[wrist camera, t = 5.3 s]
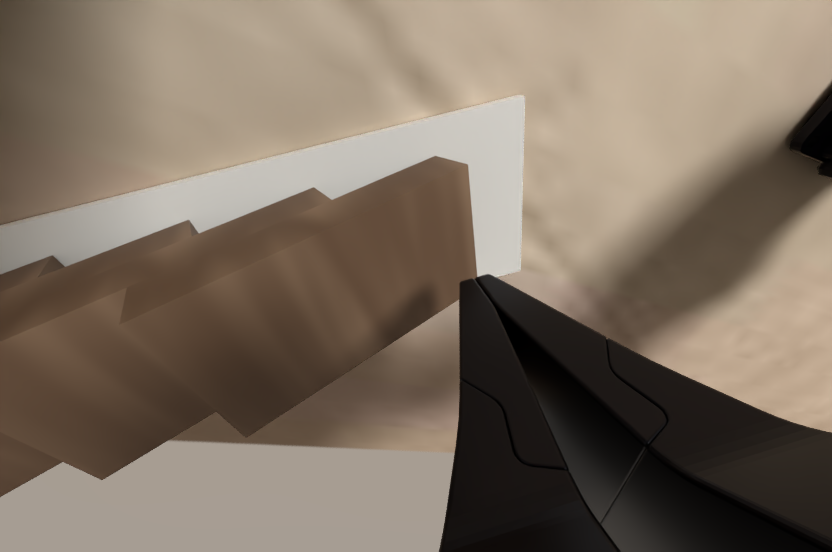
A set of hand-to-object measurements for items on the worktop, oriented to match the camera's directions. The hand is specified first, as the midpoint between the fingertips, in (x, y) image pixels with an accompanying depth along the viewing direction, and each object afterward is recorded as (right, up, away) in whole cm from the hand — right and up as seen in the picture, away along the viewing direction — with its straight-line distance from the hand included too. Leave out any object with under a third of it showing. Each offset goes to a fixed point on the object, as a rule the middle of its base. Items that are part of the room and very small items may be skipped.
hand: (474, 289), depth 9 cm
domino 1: (0, +2, +3) cm, 3 cm away
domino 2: (-4, +1, +3) cm, 5 cm away
